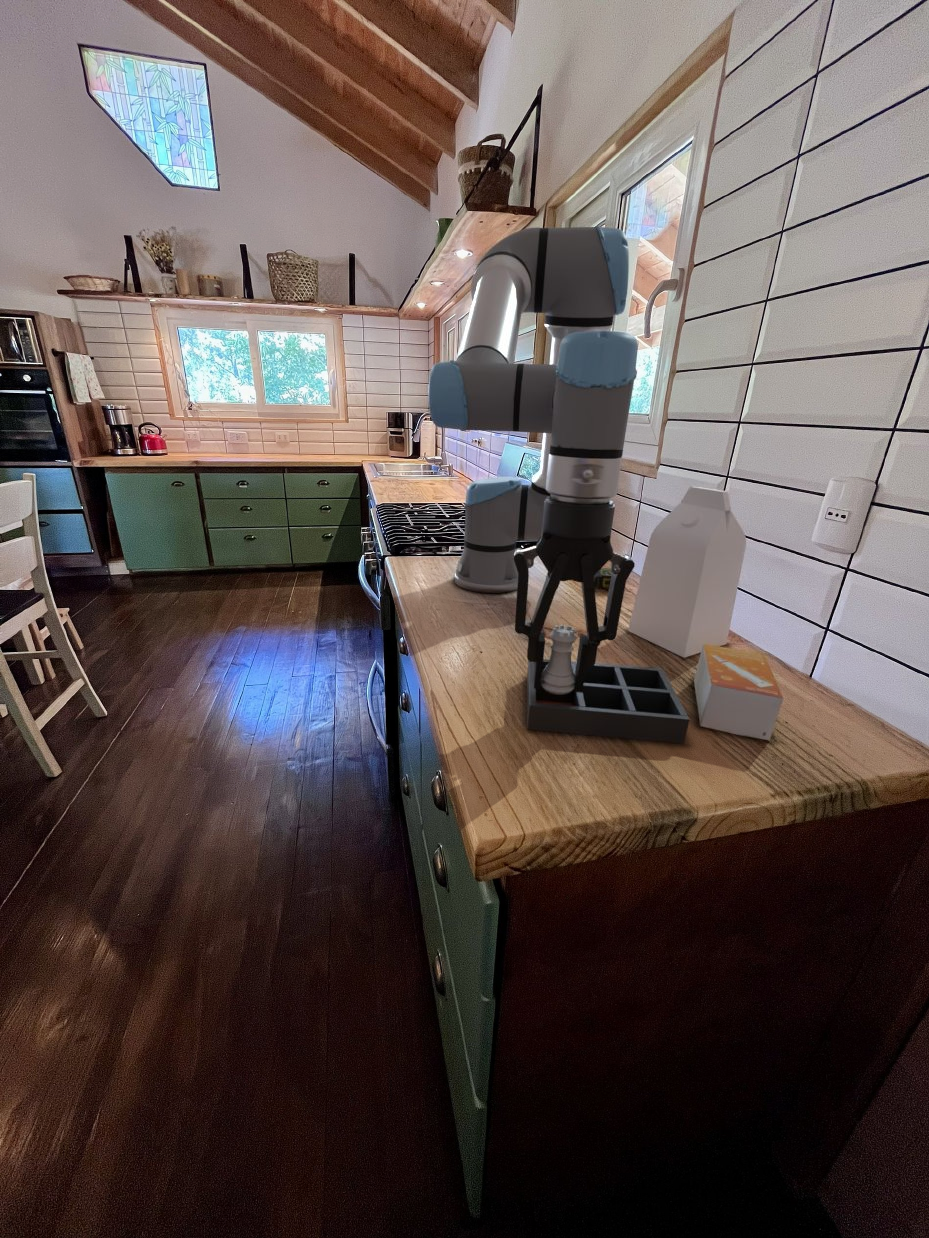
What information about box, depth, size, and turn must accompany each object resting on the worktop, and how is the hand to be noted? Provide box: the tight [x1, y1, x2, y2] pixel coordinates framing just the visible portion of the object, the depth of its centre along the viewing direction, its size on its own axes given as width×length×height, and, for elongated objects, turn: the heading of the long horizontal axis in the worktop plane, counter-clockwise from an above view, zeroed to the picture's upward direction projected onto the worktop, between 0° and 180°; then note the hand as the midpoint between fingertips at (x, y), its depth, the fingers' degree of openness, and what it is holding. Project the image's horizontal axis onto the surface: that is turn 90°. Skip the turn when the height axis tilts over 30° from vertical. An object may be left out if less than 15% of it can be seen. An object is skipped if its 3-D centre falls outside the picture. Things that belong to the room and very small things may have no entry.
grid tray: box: [526, 658, 690, 745], centre depth 66 cm, size 13×19×4 cm
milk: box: [627, 485, 747, 659], centre depth 84 cm, size 12×12×26 cm
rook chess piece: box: [541, 624, 578, 694], centre depth 61 cm, size 4×4×8 cm
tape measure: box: [594, 567, 612, 590], centre depth 113 cm, size 7×7×4 cm
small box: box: [693, 644, 784, 741], centre depth 66 cm, size 8×6×13 cm
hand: (557, 684), depth 63 cm, fingers closed on rook chess piece, 4 cm apart
